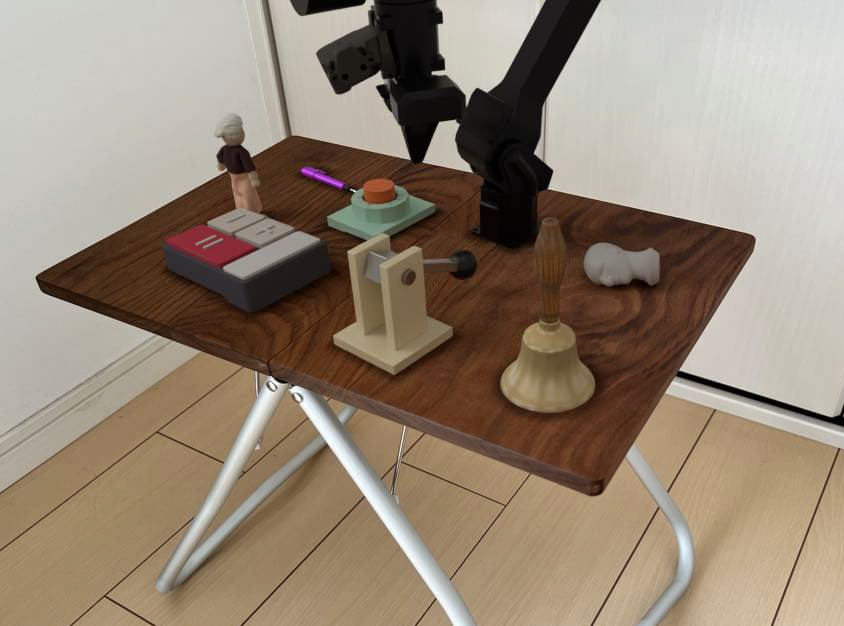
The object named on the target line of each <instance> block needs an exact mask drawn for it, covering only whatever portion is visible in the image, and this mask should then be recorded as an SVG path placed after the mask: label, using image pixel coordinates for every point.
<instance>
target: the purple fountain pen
mask: <svg viewBox="0 0 844 626" xmlns="http://www.w3.org/2000/svg"><path fill="white" fill-rule="evenodd" d="M300 170H301V171H300V172H301V175H303V176H304V177H306V178H309V179H311V180H315V181H318V182H321V183H324V184H326V185H328V186H332V187H334V188H336V189H339V190H341V191H345V192H353V193H355V192H356V191H357V190H355V189H353V187H352V186H351V185H349V184H347V183H346V182H344V181H342V180H338V179H336V178H333V177H330V176H328V175H326V174H327V172H326V171H323V170H320V169H318V168H317V169H316V168H313V167H311V166H307V167H302V169H300Z"/></svg>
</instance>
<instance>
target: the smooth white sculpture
mask: <svg viewBox="0 0 844 626" xmlns="http://www.w3.org/2000/svg"><path fill="white" fill-rule="evenodd" d="M660 258H661V256H660V253H659V252H658V251H657V250H655V249H654V248H653V247H649V248H646V249H645V250H641V251H630V250H624V249H622V248H621V247H619V246H617V245H615V244H613V243H610V242H609V243H608V242H598V243H595V244H592V246H590V247H589V248H588V249H587V251H586V253H585V255H584V259H583V268H584V272H585V274H586V276H587V278H588V279H589V280H590V281H591V282H592V283H594V284H595V285H597V286H601V285H604V286H606V287H608V288H609V287H610V288H611V287H613V286H618V285H628V284H630V283H631V281H632V280H639V281H644V282H645V283H647V285H649V286H650V287H652V286H654V285H656V284H658V283H660V273H661V270H660V269H661V259H660Z"/></svg>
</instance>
